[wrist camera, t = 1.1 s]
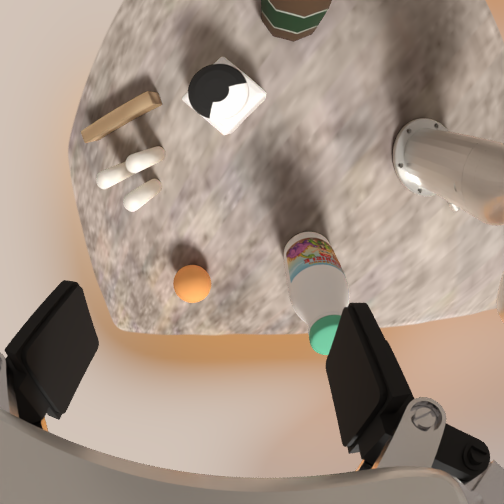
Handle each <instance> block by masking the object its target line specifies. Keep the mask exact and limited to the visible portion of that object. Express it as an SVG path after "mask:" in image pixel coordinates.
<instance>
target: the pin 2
mask: <svg viewBox="0 0 504 504" xmlns="http://www.w3.org/2000/svg"><path fill="white" fill-rule="evenodd" d="M164 158H165V150H164V149H163V148H162V147H159V146H157V147H153V148H150V149H147V150H143V151H140V152H137V153H134V154H131V155H129V156H128V157H127V159H126V168H127V170H128V171H129V172H131V173H138V172H140V171H142V170H144V169H146V168H148V167H150V166H152V165H154V164H156V163H159V162H161V161H162V160H163V159H164Z"/></svg>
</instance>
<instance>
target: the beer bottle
mask: <svg viewBox="0 0 504 504" xmlns="http://www.w3.org/2000/svg"><path fill="white" fill-rule="evenodd" d="M331 1H332V0H261V17H262V21H263V23H264V24H265V26H266V27H267V28H268V30H269V31H270V32H271V34H272V35H273V36H275V37H279V38H283V39H286V40H290V41H296V40H298V39H301V38H303V37H306V36H308V35H311V34H312V33H313V32H314V31H315V29H316V28H317V26H318V24H319V23H320V21H321V20H322V18H323V17H324V15H325V13H326V12H327V10H328V9H329V6H330V4H331Z"/></svg>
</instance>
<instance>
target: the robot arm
mask: <svg viewBox="0 0 504 504" xmlns="http://www.w3.org/2000/svg"><path fill="white" fill-rule="evenodd" d="M393 164H394V168H395V172H396V174H397V176H398V178H399V180H400V181H401V183H402V184H403V185H404V186H405V187H406V188H407V189H408V190H410V191H411V192H413V193H415V194H416V195H420V196H427V197H428V196H434V195H438V196H440V197H442V198H443V199H445V200H447V202H448V204H449V206H450V208H451V209H452V211H457V210H459V209H462V210H464V211H465V212H467V213H469V214H470V215H472V216H473V217H475V218H477V219H478V220H480V221H482V222H484V223H486V224H489V225H496V226H498V225H504V143H500V142H496V141H492V140H487V139H482V138H478V137H474V136H469V135H464V134H459V133H453V132H449V131H448V130H447V129H446V128H445V127H444V126H443V125H442V124H441V123H439V122H437V121H435V120H432V119H427V118H419V119H415V120H412V121H410V122H409V123H407V124H406V125H405V126H404V127H403V128H402V129H401V130H400V132H399V133H398V135H397V138H396V140H395V143H394V148H393ZM398 164H399V166H398ZM497 310H498V314H499V316H500V318H501V320H502V322H503V323H504V271H503V275H502V278H501V282H500V285H499V289H498V294H497ZM98 345H99V341H98V337H97V335H96V332H95V329H94V326H93V323H92V320H91V316H90V313H89V310H88V307H87V303H86V300H85V296H84V293H83V289H82V288H81V287H80V286H79V284H78V283H77V282H73V281H65V280H64V281H62V282H61V283H60V284H59V285H58V286H57V287H56V289H55V290H54V291H53V292H52V293H51V294H50V295H49V296H48V297H47V298H46V300H45V301H44V302H43V303H42V304H41V305H40V306H39V308H38V309H37V310H36V311H35V312H34V313H33V315H32V316H31V317H30V318H29V319H28V321H27V322H26V323H25V324H24V325H23V327H22V328H21V329H20V330H19V332H18V333H17V334H16V336H15V337H14V338H13V339H12V341H11V342H10V343H9V344H8V346H7V347H6V348H5V352H6V354H7V355H8V356H7V358H6V359H5V357H4V356H3V354H1V353H0V504H504V469H503V468H502V467H501V466H500V465H499V464H498V463H497V462H496V461H495V460H493V461H492V462H490V453H489V450H488V447H487V446H486V445H485V443H484V442H482V441H481V440H479V439H477V438H475V437H473V436H471V435H468V434H466V433H464V432H462V431H460V430H458V429H456V428H454V427H452V426H450V425H448V424H446V415H445V411H444V410H443V408H442V406H441V405H440V404H438V402H436V401H434V400H433V399H430V398H427V397H419V398H416V399H414V397H413V395H412V393H411V390H410V388H409V386H408V384H407V381H406V379H405V377H404V375H403V372H402V370H401V368H400V366H399V364H398V362H397V360H396V358H395V355H394V353H393V351H392V349H391V347H390V345H389V343H388V342H387V341H386V340H385V338H384V336H383V334H382V332H381V330H380V328H379V326H378V324H377V322H376V320H375V318H374V316H373V314H372V312H371V310H370V308H369V307H368V305H367V304H366V303H350V304H349V305H348V307H344V309H343V311H342V314H341V318H340V321H339V324H338V327H337V330H336V333H335V337H334V340H333V343H332V346H331V348H330V351H329V354H328V357H327V360H326V372H327V375H328V380H329V384H330V389H331V393H332V398H333V402H334V406H335V411H336V416H337V420H338V425H339V430H340V434H341V439H342V444H343V446H345V447H346V446H347V447H348V452H349V454H350V453H356V452H360V454H361V458H362V459H363V460H362V461H361V463H360V465H359V466H358V468H357V469H356V471H354V472H347V473H339V474H330V475H320V476H307V477H290V478H243V477H242V478H241V477H225V476H213V475H205V474H196V473H189V472H182V471H176V470H170V469H165V468H160V467H155V466H150V465H145V464H141V463H137V462H133V461H129V460H125V459H121V458H118V457H115V456H111V455H108V454H105V453H101V452H98V451H96V450H92V449H90V448H87V447H84V446H81V445H79V444H76V443H73V442H71V441H68V440H66V439H63V438H61V437H58V436H56V435H54V434H52V433H49V432H48V428H47V425H46V421H45V415H46V413H47V414H48V415H49V416H52V417H54V418H56V419H60V417H61V415H62V414H63V413H65V412H66V410H67V408H68V406H69V404H70V402H71V400H72V398H73V396H74V394H75V392H76V389H77V388H78V386H79V384H80V381H81V379H82V377H83V376H84V374H85V372H86V370H87V368H88V366H89V364H90V362H91V360H92V358H93V357H94V355H95V353H96V351H97V349H98Z"/></svg>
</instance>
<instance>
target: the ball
mask: <svg viewBox="0 0 504 504" xmlns="http://www.w3.org/2000/svg"><path fill="white" fill-rule="evenodd" d="M210 288H211V280H210V277H209V275H208V273H207V272H206V271H205V270H204V269H203V268H202V267H200V266H197V265H187V266H184V267H183V268H181V269H180V270H179V271H178V272H177V273H176V275H175V278H174V289H175V292H176V294H177V295H178V296H179V297H180V298H181V299H182V300H184V301H186V302H190V303H195V302H199V301H201V300H203V299H204V298H205V297H206V296H207V295H208V293H209V291H210Z"/></svg>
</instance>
